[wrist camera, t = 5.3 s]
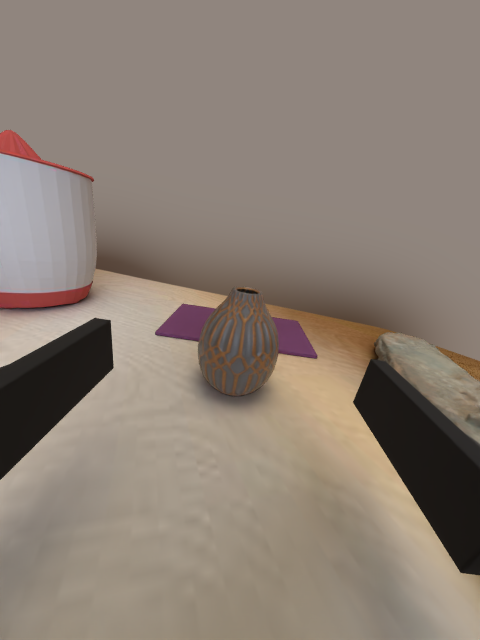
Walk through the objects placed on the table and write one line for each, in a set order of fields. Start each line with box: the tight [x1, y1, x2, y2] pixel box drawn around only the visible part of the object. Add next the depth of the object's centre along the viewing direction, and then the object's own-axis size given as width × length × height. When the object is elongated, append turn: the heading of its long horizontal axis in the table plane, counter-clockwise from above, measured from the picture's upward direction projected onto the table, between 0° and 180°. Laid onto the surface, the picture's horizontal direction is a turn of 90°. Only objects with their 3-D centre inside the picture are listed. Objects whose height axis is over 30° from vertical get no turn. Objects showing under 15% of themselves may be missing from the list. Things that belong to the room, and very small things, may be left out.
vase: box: [198, 287, 279, 396], centre depth 19 cm, size 7×7×9 cm
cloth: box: [155, 304, 317, 358], centre depth 33 cm, size 20×12×1 cm, turn 88°
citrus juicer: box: [0, 130, 97, 308], centre depth 30 cm, size 16×17×20 cm
